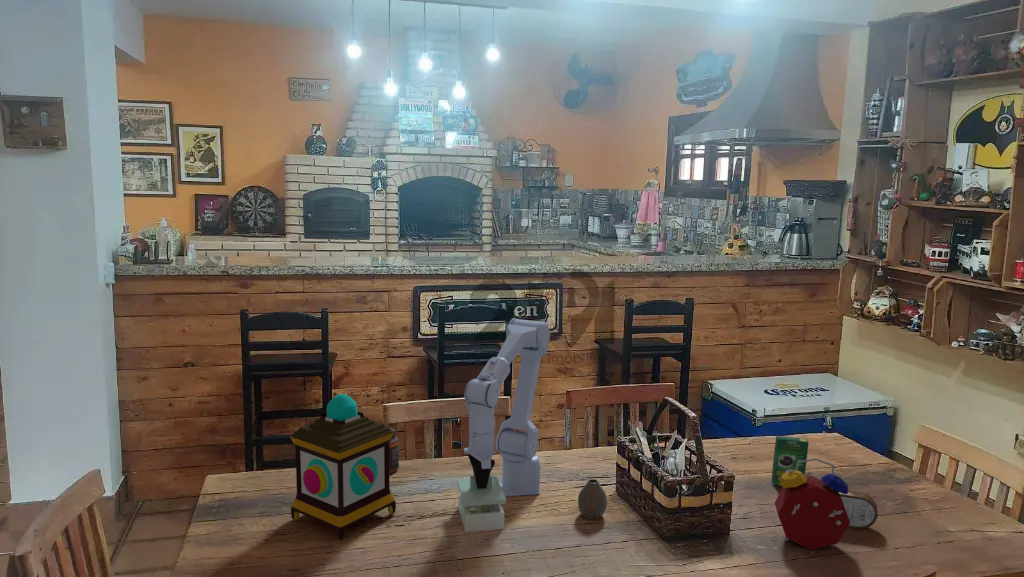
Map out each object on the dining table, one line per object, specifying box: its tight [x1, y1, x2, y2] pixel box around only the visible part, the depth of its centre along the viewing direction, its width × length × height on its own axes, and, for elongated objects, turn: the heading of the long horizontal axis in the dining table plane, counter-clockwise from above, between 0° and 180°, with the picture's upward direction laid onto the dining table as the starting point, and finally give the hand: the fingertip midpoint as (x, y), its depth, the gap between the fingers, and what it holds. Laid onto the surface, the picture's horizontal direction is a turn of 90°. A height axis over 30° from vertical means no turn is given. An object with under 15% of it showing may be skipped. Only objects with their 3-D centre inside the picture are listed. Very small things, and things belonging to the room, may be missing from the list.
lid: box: [456, 474, 507, 506], centre depth 169 cm, size 10×13×5 cm
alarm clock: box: [774, 458, 850, 551], centre depth 158 cm, size 15×9×20 cm, turn 77°
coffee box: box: [771, 435, 809, 487], centre depth 190 cm, size 8×3×13 cm, turn 79°
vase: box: [577, 478, 608, 520], centre depth 172 cm, size 7×7×9 cm
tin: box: [839, 489, 879, 530], centre depth 170 cm, size 15×3×8 cm, turn 71°
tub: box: [457, 492, 505, 533], centre depth 170 cm, size 9×12×4 cm
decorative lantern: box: [289, 393, 397, 542], centre depth 167 cm, size 20×20×30 cm
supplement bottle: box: [389, 427, 400, 474], centre depth 196 cm, size 6×6×11 cm
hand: (481, 486), depth 169 cm, fingers closed on lid
